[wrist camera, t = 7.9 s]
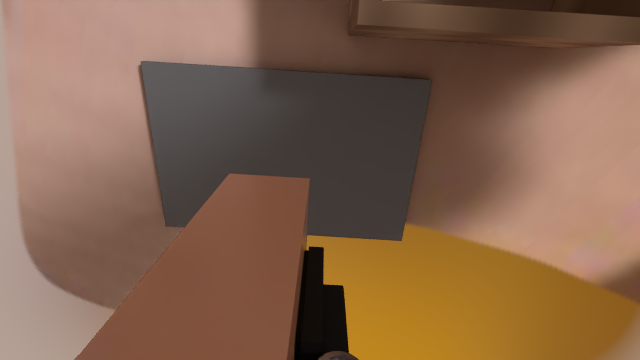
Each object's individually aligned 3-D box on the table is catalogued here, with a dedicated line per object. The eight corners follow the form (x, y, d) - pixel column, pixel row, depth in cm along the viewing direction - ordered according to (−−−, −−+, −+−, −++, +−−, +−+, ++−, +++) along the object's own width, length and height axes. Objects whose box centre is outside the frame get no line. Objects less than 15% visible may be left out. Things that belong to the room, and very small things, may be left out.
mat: (429, 79, 21) (432, 80, 21) (399, 237, 26) (401, 240, 26) (145, 61, 21) (140, 61, 21) (169, 222, 26) (165, 225, 26)
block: (309, 178, 11) (267, 515, 3) (302, 319, 14) (269, 709, 6) (229, 173, 11) (-41, 500, 3) (237, 315, 14) (105, 702, 6)
